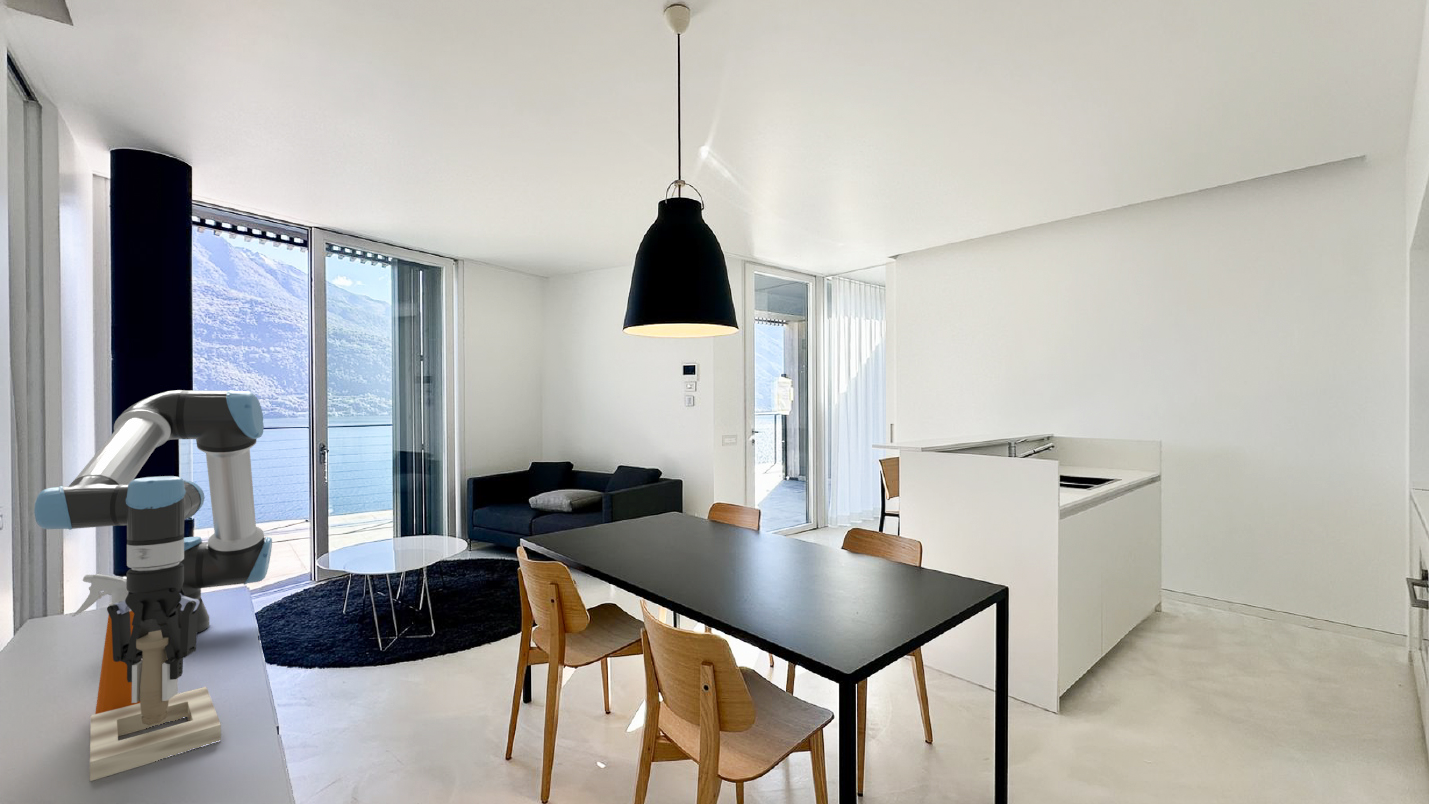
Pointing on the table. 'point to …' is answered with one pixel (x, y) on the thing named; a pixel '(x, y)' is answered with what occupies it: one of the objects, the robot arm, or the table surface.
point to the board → (151, 734)
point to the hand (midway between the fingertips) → (155, 697)
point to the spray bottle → (110, 646)
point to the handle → (152, 677)
